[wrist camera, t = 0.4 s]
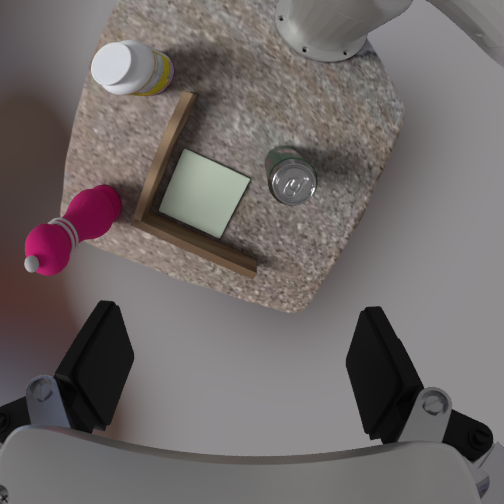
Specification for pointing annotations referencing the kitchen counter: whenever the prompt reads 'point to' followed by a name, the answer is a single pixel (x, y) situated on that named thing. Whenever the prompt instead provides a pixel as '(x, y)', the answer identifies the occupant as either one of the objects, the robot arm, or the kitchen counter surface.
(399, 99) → the kitchen counter surface
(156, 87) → the supplement bottle
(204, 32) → the kitchen counter surface
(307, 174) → the soda can
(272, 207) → the kitchen counter surface
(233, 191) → the pad
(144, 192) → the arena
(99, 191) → the pepper mill
